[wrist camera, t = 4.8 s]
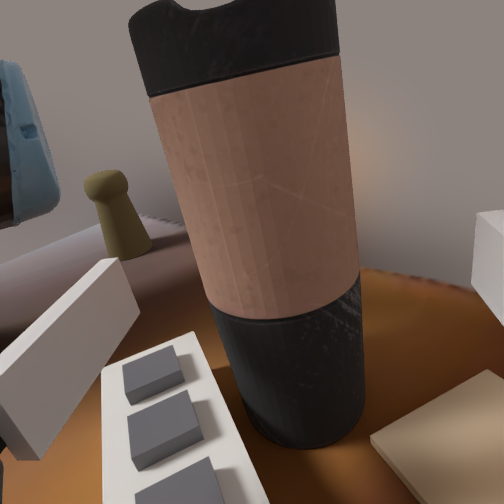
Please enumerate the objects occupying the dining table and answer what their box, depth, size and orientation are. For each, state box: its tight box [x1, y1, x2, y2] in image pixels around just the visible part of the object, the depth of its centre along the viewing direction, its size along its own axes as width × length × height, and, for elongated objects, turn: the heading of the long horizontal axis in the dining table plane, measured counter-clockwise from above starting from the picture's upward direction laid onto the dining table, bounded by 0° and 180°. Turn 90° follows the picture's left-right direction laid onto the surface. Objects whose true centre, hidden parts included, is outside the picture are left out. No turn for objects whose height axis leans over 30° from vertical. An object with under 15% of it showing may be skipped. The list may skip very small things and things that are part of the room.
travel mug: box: [128, 0, 365, 449], centre depth 17 cm, size 8×8×20 cm
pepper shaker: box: [84, 170, 153, 261], centre depth 47 cm, size 6×6×11 cm
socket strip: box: [101, 331, 270, 504], centre depth 16 cm, size 18×6×4 cm, turn 22°
